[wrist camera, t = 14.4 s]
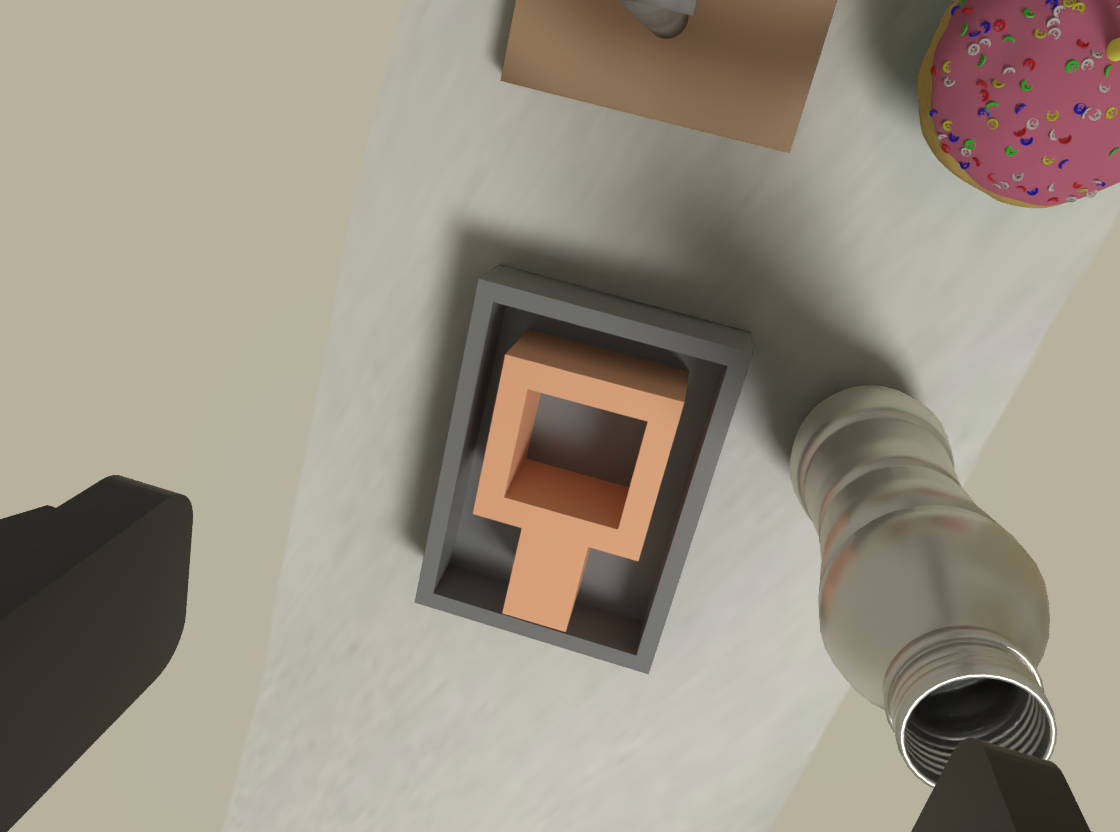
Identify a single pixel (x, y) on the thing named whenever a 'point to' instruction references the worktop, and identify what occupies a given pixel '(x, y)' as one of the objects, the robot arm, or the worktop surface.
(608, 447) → the tray
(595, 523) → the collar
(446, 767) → the worktop surface
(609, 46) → the stake stand
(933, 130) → the cupcake
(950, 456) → the plastic bottle
